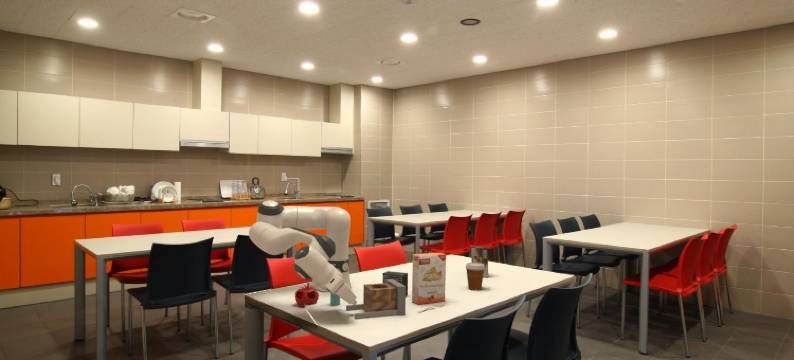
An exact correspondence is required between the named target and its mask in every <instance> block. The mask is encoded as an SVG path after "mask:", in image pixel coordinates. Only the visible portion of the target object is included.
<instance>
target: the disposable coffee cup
mask: <svg viewBox="0 0 794 360" xmlns="http://www.w3.org/2000/svg"><path fill="white" fill-rule="evenodd" d="M465 269H466V280H467V286H468V287H467V289H468V290H469V291H470V290H471V291H481V290H482V288H483V280H484V277H483V274H484V269H485V267H484V264H481V263H471V262H467V263H466V264H465Z"/></svg>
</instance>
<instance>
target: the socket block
mask: <svg viewBox="0 0 794 360" xmlns="http://www.w3.org/2000/svg"><path fill="white" fill-rule="evenodd" d="M362 297H363V299H362V300H363V301H362V304H363V309H362V310H363V311H364V312H374V311H385V310H395V309H396V288H395V287H393V286H391V285H390V284H388V283H383V282H382V283H368V284H363V295H362Z"/></svg>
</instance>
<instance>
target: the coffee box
mask: <svg viewBox="0 0 794 360" xmlns="http://www.w3.org/2000/svg"><path fill="white" fill-rule="evenodd" d="M470 249H471V250H470V251H471V258H470V259H471V260H470V261H471V262H470V263H481V264H484V267H485V269H484V274H483V278H486V279H487V278H489V247H488V246H476V245H475V246H471V248H470Z"/></svg>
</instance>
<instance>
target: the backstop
mask: <svg viewBox="0 0 794 360" xmlns="http://www.w3.org/2000/svg"><path fill="white" fill-rule="evenodd" d="M386 283H388V284H390V285H391V286H393V287H395V288H396V309H395V310H385V311H374V312H366V311H364V312H356V313H354V320H362V319H363V320H365V319H370V318H371V319H372V318H381V317H393V316H405V315H406V304H407V302H406V297H407V296H406V286H404V285H402V284H401V283H399V282H397V281H395V280H393V279H388V280H386ZM357 310H358V311H360V310H363V303H359V304H358V303H357V304H356V305H353V304H347V305H345V311H347V312H348V311H350V312H351V311H357Z"/></svg>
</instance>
